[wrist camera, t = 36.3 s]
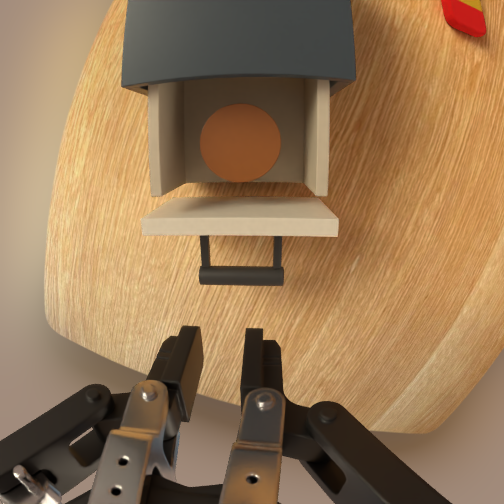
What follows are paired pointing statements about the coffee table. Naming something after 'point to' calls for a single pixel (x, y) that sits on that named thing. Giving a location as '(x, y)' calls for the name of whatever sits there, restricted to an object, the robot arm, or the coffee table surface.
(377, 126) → the coffee table surface
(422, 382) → the coffee table surface
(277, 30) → the cabinet
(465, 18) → the popsicle
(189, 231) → the drawer
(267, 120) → the orange brown cylinder
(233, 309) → the coffee table surface
